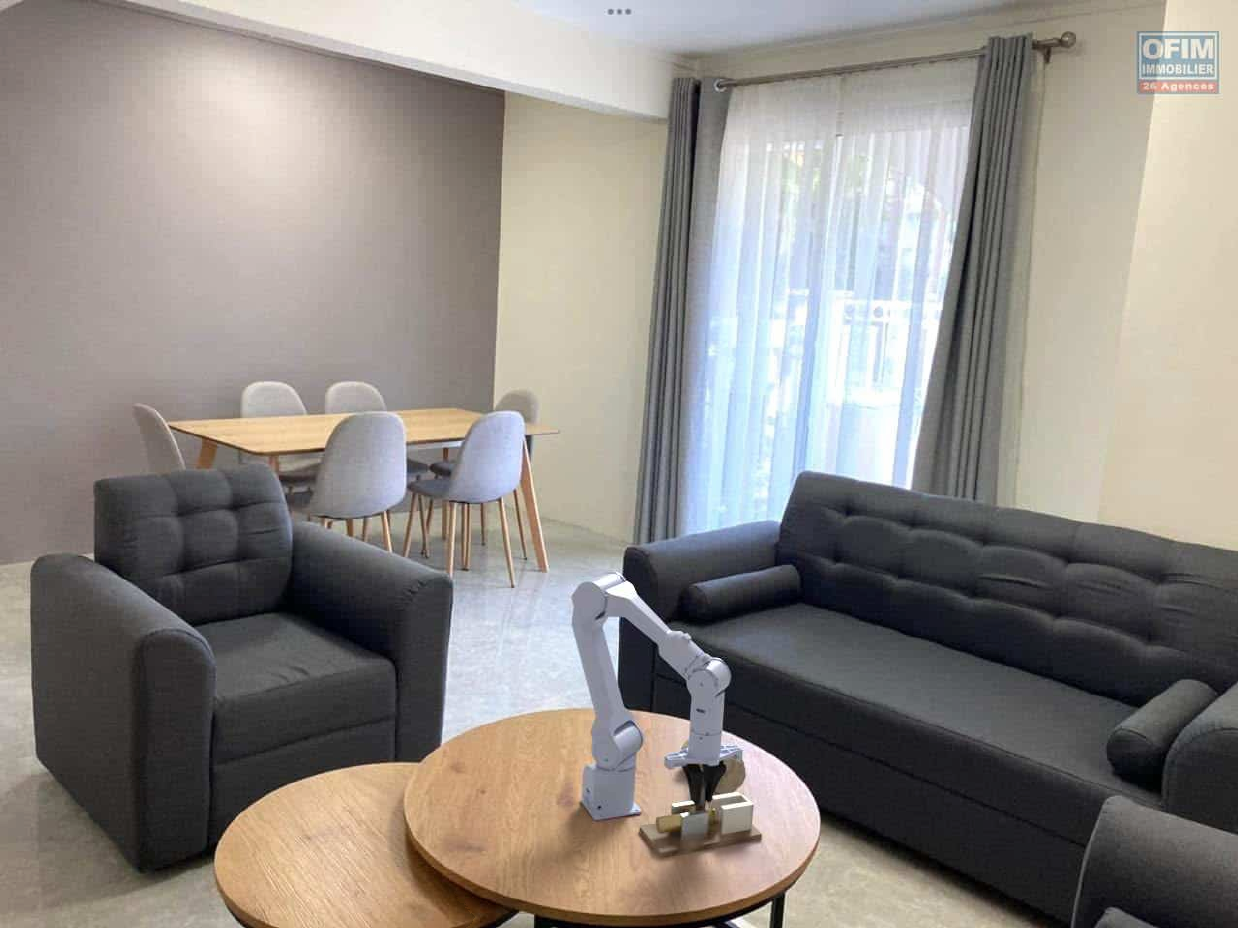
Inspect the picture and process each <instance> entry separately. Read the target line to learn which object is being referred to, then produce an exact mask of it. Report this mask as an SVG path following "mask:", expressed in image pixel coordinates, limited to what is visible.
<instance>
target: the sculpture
mask: <svg viewBox="0 0 1238 928" xmlns="http://www.w3.org/2000/svg"><path fill="white" fill-rule="evenodd" d="M688 745H689V738H688V739H687V740H686V741H685V742H683V744H682V746H681V749H680V750H683V749H686V748H688ZM723 763H724V764H725V765H726V766H727V769H726V772H725V774H724V775H723V776H722V778H721V779H720V781H719V783H718V785H717V787H716V789H715V792H714V795H721V794H727V793H734V792H737V790H738V789H739V788H740V787H741V786H742V785H743V784H744V782H745V779H746V777H747V774H746V766H745V762H744V760H743V758H742V759H741V760H736V759H729V760H724V762H723ZM699 766H701V770H702V771H703V764H699Z"/></svg>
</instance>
